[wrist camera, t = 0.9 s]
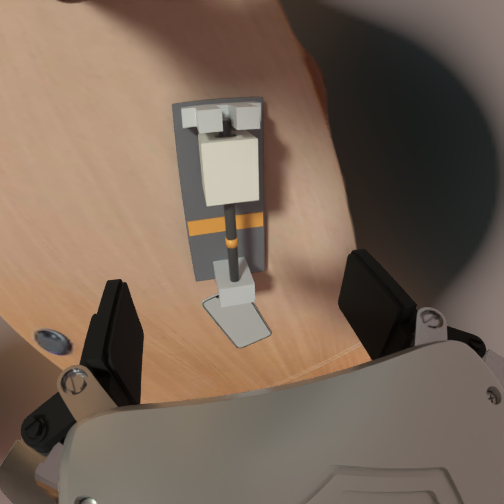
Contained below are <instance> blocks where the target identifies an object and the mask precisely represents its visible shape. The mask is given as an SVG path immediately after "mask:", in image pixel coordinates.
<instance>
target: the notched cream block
mask: <svg viewBox="0 0 504 504" xmlns="http://www.w3.org/2000/svg"><path fill="white" fill-rule="evenodd" d="M198 141H199V153H200V164H201V174H202V185H203V191H204V196H205V200H206V205H207V206H214V205H222V204H230V203H238V202H247V201H255V200H259V170H258V139H257V138H256V137H255V136H253V135H252V134H250V133H249V132H248V131H246V130H235V131H231V137H222V138H219V132H213V133H203V134H198Z"/></svg>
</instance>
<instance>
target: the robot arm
mask: <svg viewBox="0 0 504 504" xmlns="http://www.w3.org/2000/svg"><path fill="white" fill-rule="evenodd" d="M338 305H339V308H340V310H341V311H342V313H343V314H344V316H345V317H346V319H347V321H348V322H349V324H350V325H351V327H352V328H353V330H354V332H355V333H356V335H357V336H358V338H359V340H360V341H361V343H362V344H363V346H364V348H365V349H366V351H367V353H368V354H369V356H370V357H371V359H372V361H369V362H366V363H363V364H360V365H357V366H354V367H350V368H347V369H343V370H340V371H336V372H333V373H329V374H326V375H322V376H318V377H314V378H310V379H306V380H302V381H298V382H294V383H289V384H285V385H280V386H275V387H270V388H265V389H260V390H255V391H249V392H243V393H237V394H231V395H224V396H217V397H210V398H201V399H193V400H183V401H174V402H163V403H149V404H140V397H141V371H142V355H143V341H144V333H143V329H142V326H141V323H140V321H139V318H138V315H137V312H136V309H135V306H134V304H133V301H132V298H131V295H130V291H129V288H128V285H127V283H126V282H122V280H121V279H117V280H108V281H107V283H106V286H105V289H104V292H103V295H102V298H101V302H100V305H99V309H98V312H97V314H94V315H93V316H92V318H91V321H90V325H89V329H88V332H87V336H86V340H85V344H84V348H83V352H82V356H81V360H80V365H73V366H70V367H68V368H66V369H65V370H64V371H63V372H62V373H61V374H60V376H59V378H58V381H57V388H58V391H59V392H57V393H56V394H55V395H54V396H52V397H51V398H50V399H49V400H47V401H46V402H45V403H44V404H42V405H41V406H40V407H39V408H38V409H36V410H35V411H34V412H33V413H31V414H30V415H29V416H27V418H26V419H25V420H24V421H23V423H22V427H21V436H22V439H21V440H20V441H18V440H16V442H15V444H14V445H13V447H12V448H11V450H10V451H9V453H8V455H7V456H6V458H5V460H4V461H3V463H2V464H1V466H0V489H1V491H2V492H3V493H4V494H5V495H6V496H7V498H8V499H9V500H10V501H11V502H12V503H13V504H504V358H503V357H501V356H499V355H498V354H496V353H495V352H493V351H492V350H490V349H488V351H486V347H485V344H484V342H483V341H482V340H481V339H480V338H479V337H477V336H475V335H473V334H470V333H467V332H464V331H461V330H458V329H455V328H452V327H448V326H447V322H446V319H445V317H444V315H443V314H442V313H441V312H439V311H438V310H436V309H433V308H429V307H426V308H421V309H420V310H419V311H417V310H416V306H417V304H416V303H415V302H414V301H413V300H412V299H411V298H410V296H409V295H408V294H407V293H406V292H405V291H404V290H403V289H402V287H401V286H400V285H399V284H398V283H397V282H396V281H395V280H394V279H393V278H392V277H391V276H390V275H389V274H388V272H387V271H386V270H385V269H384V268H383V267H382V266H381V265H380V264H379V263H378V262H377V261H376V260H375V259H374V258H373V257H372V256H371V255H370V254H369V253H368V252H367V251H366V250H365V249H359V250H353V251H352V252H351V254H349V255H348V257H347V263H346V268H345V272H344V277H343V282H342V286H341V291H340V295H339V300H338ZM58 481H59V489H58V488H57V484H58ZM58 490H59V491H58Z"/></svg>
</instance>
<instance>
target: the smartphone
mask: <svg viewBox="0 0 504 504" xmlns="http://www.w3.org/2000/svg"><path fill="white" fill-rule="evenodd" d="M202 306H203V308H204V309H205V310H206V311H207V313H208V314H209V315H210V316H211V318H212V319H213V320H214V321H215V322H216V324H217V325H218V326H219V327H220V328H221V330H222V331H223V332H224V333H225V334H226V336H227V337H228V338H229V339H230V340H231V342H232V343H233V344H234V345H235V346H236V347H237V348H243V347H246V346H248V345H251V344H253V343H255V342H258V341H260V340H262V339H264V338H267V337H269V336H270V335H271V334H272V332H271V330H270V329H269V327H268V325H267V324H266V322H265V320H264V319H263V317H262V316H261V314H260V312H259V311H258V309H257V307H256V306H255V304H254V302H251V303H245V304H240V305H234V306H227V307H221V304H220V299H219V294H218V293H217V294H215V295H213V296H210V297H208V298H206V299H204V300H203V301H202Z"/></svg>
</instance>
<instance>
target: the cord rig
mask: <svg viewBox="0 0 504 504" xmlns="http://www.w3.org/2000/svg"><path fill="white" fill-rule="evenodd" d="M172 110H173V121H174V132H175V141H176V151H177V160H178V168H179V176H180V184H181V192H182V199H183V206H184V213H185V220H186V226H187V233H188V239H189V245H190V251H191V257H192V263H193V268H194V274H195V279H196V281H203V280H210V279H215V280H216V285H217V290H218V294H219V299H220V304H221V307H227V306H234V305H240V304H245V303H251V302H255V283H254V281H253V278H252V275H251V273H254V272H261V271H264V140H263V97H238V98H222V99H210V100H199V101H190V102H182V103H174V104H172ZM235 130H246V131H248V132H249V133H250V134H252V135H253V136H255V137H256V138H257V139H258V170H259V200H255V201H247V202H238V203H230V204H222V205H214V206H207V205H206V200H205V196H204V191H203V185H202V174H201V164H200V153H199V141H198V134H203V133H213V132H219V138H222V137H231V131H235Z"/></svg>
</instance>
